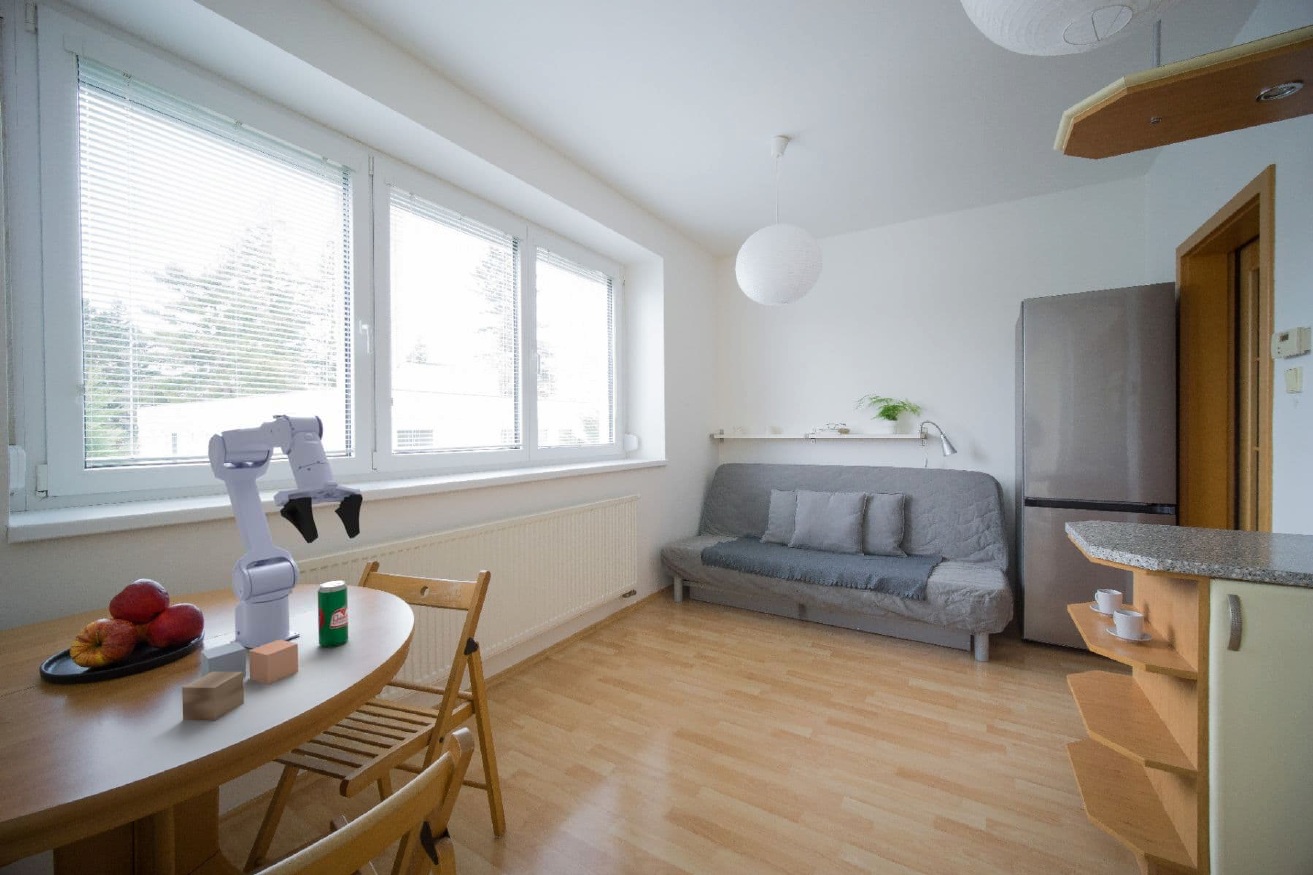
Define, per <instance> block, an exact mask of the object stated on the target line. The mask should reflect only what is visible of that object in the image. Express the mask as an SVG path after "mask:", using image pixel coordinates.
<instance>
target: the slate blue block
mask: <svg viewBox="0 0 1313 875" xmlns="http://www.w3.org/2000/svg"><path fill="white" fill-rule="evenodd" d="M246 648H247V647H245V646H242V645H241V644H240V643H238V642H233V643H226V644H221V645H218V646H214V647H211V648H208V649H207V648H206V649H204V650H201V651H200V669H201V670H200V671H201V672H200V674H201V677H203V676H205V675H207V674H209V673H211V672H213V671H214V672H243V678H246V677H247V654H246V653H247V652H246V650H247V649H246ZM201 677H200V678H201Z"/></svg>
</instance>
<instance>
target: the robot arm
mask: <svg viewBox="0 0 1313 875" xmlns="http://www.w3.org/2000/svg"><path fill="white" fill-rule="evenodd" d="M323 435H324V425H323V422H322V419H321V418H320V417H319V415H315V414H296V413H291V412H290V413H286V414H274V415H272V418H271V419H270V418H269V419H267V420H265V421H263V423H262V424H261V425H260V426H253V427H244V428H243V427H242V428H241V427H240V428H236V429H230V430H223V431H221V432H220V433H214V434H213V435H212V436H211V437H210V439H209V441H208V448H207V449H208V450H207V451H208V452H207V454H208V455H207V456H208V459H209V462H210V466H211V469H212V470H211V472H213V475H214V477H215V478H216V479H218V480H220V481H223V482H224V484H225V487H226V490H227V493H228V496H229V497H228V498H229V500H230V505H231V507H232V511H233V514H234V519H235V522H236V526H237V529H238V533H239V536H240V540H241V544H242V548H243V551H244V554H243V555H242V556H241V557H240V558H239V559H238V560H237V561H235V562H234V564H233V565H232V568H231V570H230V571H231V576H232V590H233V593H234V596H235V597H236V599H238V600H239V602H238V603H237V605H236V606H235V609H234V624H235V625H234V627H235V628H234V629H235V630H234V634H235V636H234V637H235V638H234V639H231V640H230V643H233V642H238V643H240V644H241V645H242V646H243V647H244V648H248V649H254V648H257V647H260V646H263V645H265V644H268V643H271V642H274V641H277V640H279V639H280V640H284V641H288V640H290V639H293V638H296V637H299V636H300V634H301V633H300V632H297V631H293V630H290V629H291V628H290V627H291V626H290V599H289V598H290V595H291V594H293V590H294V589H295V588H296V587H297V585H298V584H299V581H300V571H299V566H298V564H297V563H296V562H295V560H294V559H293V556H292V555H291V552H290V551H289V550H286V549H284V548H281V547H278V546H276V545H274V541H273V538H272V533H271V531H270V526H269V524H268V521H267V516H266V512H265V509H264V506H263V502H262V499H261V496H260V493H259V490H258V486H257V483H256V481H257V479H259V478H260V477H262V476H264V475H266V473H267V470H268V468H269V466H270V462H271V459H272V457H273V454H274V450H275V449H274V448H277V449H278V448H281V453H282V454H283V455H286V456H287V459H288V462H289V465H290V468H291V471H292V472H291V473H292V475H293V477H294V481H295V484H296V487H297V488H295V489H288V490H279V491H278V492H277V493H276V494H275V495H274V496H273V500H274V503H275V507H282V508H281V509H280V510H279V513H280V515H281V517H282V518H284V519H285V520H286V521H288V522H289V523H291V524H292V525H293V526H294V527H295V529H297V531H298V532H299V533H300V535H301V536H302V538H303V539H304V540H305V542H306V543H307V544H312V543H313V542H314V541H316V540H317V539H318V538H319V532H318V529H317V526H316V523H315V519H314V514H313V513H314V512H313V505H317V504H322V503H323V504H324V503H339V505H338V507H337V508H336V509H334V512H335V514H336V515H337V516H338V517H339V520H341V523H342V524H343V526H344V529H345V532H346V534H347V537H348V538H349V539H354V538H356V537H357V536H358V535H360V533H361V530H360V512H361V507H362V503H363V497H364V496H363V495H362V492H361V489H360V488H351V487H347V486H343V485H339V483H338V481H336V480H335V478H334V475H333V472H332V469H331V465H330V463H329V460H328V456H327V454H326V450H325V448H324V446H323V443H322V440H323Z"/></svg>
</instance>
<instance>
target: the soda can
mask: <svg viewBox="0 0 1313 875" xmlns="http://www.w3.org/2000/svg"><path fill="white" fill-rule="evenodd" d="M348 596H349V595H348V586H347V584H346V582H345V581H343V580H333V581H328V582H324V583H322V584H319V588H318V590H317V619H318V621H317V624H318V633H317V634H318V645H320V646H321V647H323V648H333V647H339V646H341V645H343V644H344V643H347V641H348V640H349V606H348V605H349V604H348V601H349V600H348V599H349V598H348Z"/></svg>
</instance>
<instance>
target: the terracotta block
mask: <svg viewBox="0 0 1313 875" xmlns="http://www.w3.org/2000/svg"><path fill="white" fill-rule="evenodd" d="M298 646H299V643H297V642H294V641H293V642H292V641H288V640H285V641H284V640H280V639H279V640H277V641H274V642H271V643H268V644H265V645H263V646H260V647H257V648H254V649H253V648H251V649H249V650H248V658H249V660H248V661H249V663H248V664H249V670H248V671H249V679H250V680H253V681H257V682H260V683H265V684H268V685H269V684H271V683H273V682H276V681H278V680H281V679H283V678H286V677H287V676H290V675H292V674H294V673H296V672H298V671H299V647H298Z"/></svg>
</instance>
